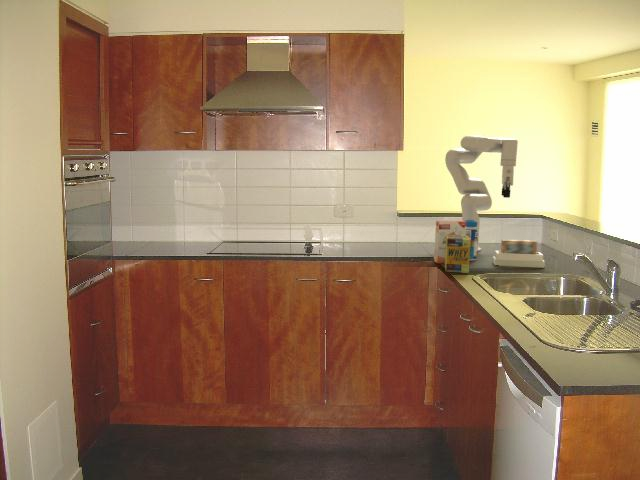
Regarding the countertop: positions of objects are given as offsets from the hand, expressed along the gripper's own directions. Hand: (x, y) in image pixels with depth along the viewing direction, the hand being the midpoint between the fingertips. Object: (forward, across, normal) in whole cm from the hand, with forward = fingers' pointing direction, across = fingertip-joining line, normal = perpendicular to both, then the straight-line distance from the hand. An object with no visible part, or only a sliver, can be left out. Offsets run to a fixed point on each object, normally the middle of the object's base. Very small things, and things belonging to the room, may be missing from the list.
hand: (505, 196), depth 313 cm
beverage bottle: (+32, -10, +17) cm, 38 cm away
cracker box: (+32, -23, +27) cm, 48 cm away
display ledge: (+31, -20, -6) cm, 38 cm away
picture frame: (+28, -20, -6) cm, 35 cm away
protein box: (+32, -41, +23) cm, 56 cm away
